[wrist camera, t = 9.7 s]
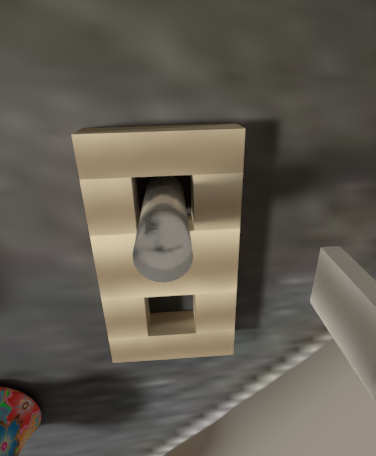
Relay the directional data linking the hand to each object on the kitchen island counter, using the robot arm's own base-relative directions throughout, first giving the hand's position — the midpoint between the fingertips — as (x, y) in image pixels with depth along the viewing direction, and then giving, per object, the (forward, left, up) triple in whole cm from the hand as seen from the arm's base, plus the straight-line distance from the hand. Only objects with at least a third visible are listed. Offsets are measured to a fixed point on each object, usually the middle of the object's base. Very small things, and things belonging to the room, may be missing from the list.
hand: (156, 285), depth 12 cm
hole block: (+5, 0, -13) cm, 14 cm away
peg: (+1, 0, -13) cm, 13 cm away
